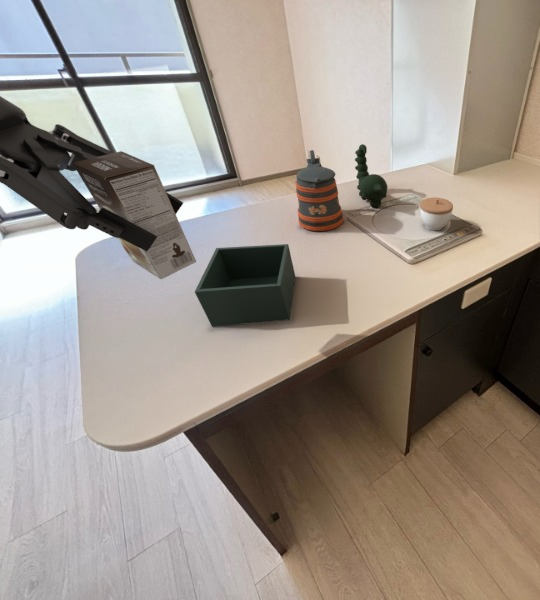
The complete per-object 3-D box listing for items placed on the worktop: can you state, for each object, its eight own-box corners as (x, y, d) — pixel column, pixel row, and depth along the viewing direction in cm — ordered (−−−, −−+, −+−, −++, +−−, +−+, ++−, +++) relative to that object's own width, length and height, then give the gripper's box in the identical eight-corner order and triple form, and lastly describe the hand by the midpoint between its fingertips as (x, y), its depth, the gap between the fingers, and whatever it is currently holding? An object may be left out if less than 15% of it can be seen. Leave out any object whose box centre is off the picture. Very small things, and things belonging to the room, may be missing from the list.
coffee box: (129, 261, 54) (68, 161, 43) (168, 245, 58) (120, 150, 47) (161, 280, 50) (102, 177, 40) (199, 261, 54) (155, 163, 44)
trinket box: (451, 234, 106) (456, 207, 100) (419, 233, 106) (421, 205, 99) (448, 218, 114) (451, 192, 108) (417, 217, 114) (419, 191, 108)
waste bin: (211, 326, 71) (194, 291, 65) (229, 281, 84) (216, 247, 77) (289, 320, 74) (280, 285, 67) (295, 276, 86) (288, 243, 80)
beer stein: (295, 209, 116) (284, 150, 103) (336, 204, 120) (330, 147, 107) (301, 234, 102) (289, 170, 89) (347, 228, 106) (342, 166, 93)
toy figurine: (351, 193, 132) (368, 215, 113) (346, 142, 121) (365, 157, 102) (373, 190, 134) (394, 211, 116) (370, 140, 123) (393, 154, 104)
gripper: (20, 113, 48) (180, 209, 60) (-151, 168, 31) (121, 285, 43) (36, 70, 45) (200, 179, 57) (-142, 104, 28) (146, 249, 40)
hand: (166, 225), depth 50 cm, fingers closed on coffee box, 10 cm apart
